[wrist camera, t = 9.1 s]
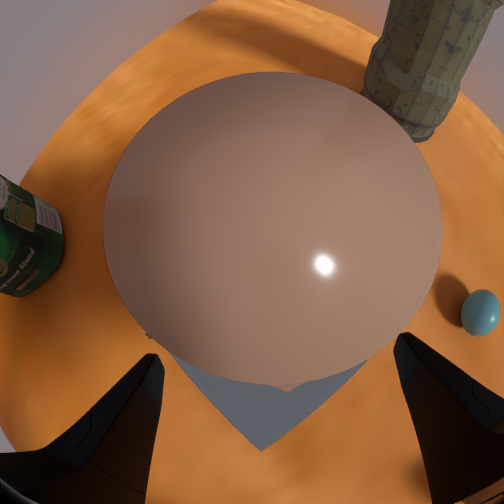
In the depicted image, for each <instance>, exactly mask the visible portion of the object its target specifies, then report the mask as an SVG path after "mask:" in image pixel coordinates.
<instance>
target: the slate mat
mask: <svg viewBox="0 0 504 504" xmlns="http://www.w3.org/2000/svg"><path fill="white" fill-rule="evenodd" d="M169 353H170V354H171V355H172V357H173V358H174V359H175V360H176V362H177V363H178V364H179V365H180V367H181V368H182V369H183V370H184V371H185V373H186V374H187V375H188V376H189V377H190V379H191V380H192V381H193V382H194V383H195V384H196V386H197V387H198V388H199V389H200V390H201V391H202V392H203V394H204V395H205V396H206V397H207V398H208V399H209V400H210V401H211V402H212V403H213V405H214V406H215V407H216V408H217V409H218V410H219V411H220V412H221V413H222V414H223V415H224V416H225V417H226V418H227V419H228V420H229V421H230V422H231V423H232V424H233V425H234V426H235V427H236V428H237V429H238V430H239V431H240V432H241V433H242V434H243V435H244V436H245V437H246V438H247V439H248V440H249V441H250V442H251V443H252V444H253V445H254V446H256V447H257V448H258V449H259V450H260V451H262V450H264V449H265V448H267V447H268V446H269V445H271V444H272V443H274V442H275V441H276V440H278V439H279V438H281V437H282V436H283V435H285V434H286V433H287V432H289V431H290V430H291V429H292V428H294V427H295V426H296V425H298V424H299V423H300V422H301V421H303V420H304V419H305V418H306V417H307V416H309V415H310V414H311V413H312V412H313V411H315V410H316V409H317V408H318V407H319V406H320V405H322V404H323V403H324V402H325V401H326V400H327V399H328V398H330V397H331V396H332V395H333V394H334V393H335V392H336V391H337V390H338V389H339V388H340V387H341V386H342V385H344V384H345V383H346V382H347V381H348V380H349V379H350V378H351V377H352V376H353V375H354V374H355V373H356V372H357V371H358V370H359V369H360V368H361V367H362V366H363V365H364V364H365V363H366V361H367V360H368V359H367V360H365V361H363V362H361V363H360V364H358V365H356V366H354V367H352V368H350V369H348V370H346V371H343V372H340V373H337V374H334V375H331V376H328V377H325V378H322V379H319V380H314V381H308V382H305V383H303V384H301V385H299V386H297V387H295V388H293V389H292V390H291V392H289V391H287V392H284V390H282V389H279V388H276V387H273V386H270V385H266V384H254V383H247V382H241V381H235V380H230V379H227V378H224V377H220V376H217V375H214V374H211V373H208V372H205V371H203V370H201V369H199V368H197V367H195V366H193V365H191V364H189V363H187V362H185V361H183V360H181V359H179V358H178V357H176V356H175V355H174V354H172V353H171V352H169Z"/></svg>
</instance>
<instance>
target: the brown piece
mask: <svg viewBox="0 0 504 504" xmlns="http://www.w3.org/2000/svg"><path fill="white" fill-rule="evenodd" d="M442 240H443V222H442V212H441V205H440V199H439V195H438V192H437V188H436V185H435V182H434V179H433V176H432V174H431V172H430V169H429V167H428V165H427V163H426V161H425V159H424V157H423V156H422V154H421V152H420V151H419V149H418V147H417V146H416V145H415V143H414V142H413V141H412V139H411V138H410V137H409V135H408V134H407V133H406V131H405V130H404V129H403V128H402V127H401V126H400V125H399V124H398V123H397V122H396V121H395V120H394V119H393V118H392V117H391V116H390V115H388V114H387V113H386V112H385V111H384V110H382V109H381V108H380V107H379V106H377V105H376V104H374V103H373V102H371V101H370V100H368V99H367V98H365V97H363V96H362V95H360V94H358V93H356V92H354V91H352V90H350V89H348V88H346V87H343V86H341V85H339V84H336V83H333V82H331V81H327V80H324V79H321V78H317V77H313V76H308V75H303V74H297V73H286V72H257V73H248V74H241V75H236V76H231V77H227V78H223V79H220V80H217V81H214V82H210V83H208V84H205V85H203V86H201V87H198V88H196V89H194V90H192V91H190V92H188V93H186V94H184V95H183V96H181V97H179V98H177V99H176V100H174V101H173V102H171V103H170V104H169V105H167V106H166V107H164V108H163V109H162V110H161V111H159V112H158V113H157V114H156V115H155V116H154V117H152V118H151V119H150V120H149V121H148V122H147V123H146V124H145V125H144V126H143V128H142V129H141V130H140V131H139V132H138V133H137V134H136V136H135V137H134V138H133V140H132V141H131V142H130V144H129V145H128V147H127V148H126V150H125V151H124V153H123V155H122V157H121V158H120V160H119V162H118V164H117V166H116V168H115V171H114V173H113V176H112V178H111V181H110V184H109V188H108V191H107V195H106V199H105V205H104V214H103V243H104V249H105V255H106V261H107V265H108V268H109V271H110V274H111V277H112V280H113V283H114V285H115V287H116V289H117V291H118V293H119V295H120V297H121V299H122V301H123V303H124V304H125V306H126V307H127V309H128V310H129V312H130V313H131V314H132V316H133V317H134V318H135V320H136V321H137V322H138V324H139V325H140V326H141V327H142V328H143V329H144V330H145V331H146V334H145V335H147V336H148V338H149V339H154V340H155V341H156V342H157V343H158V344H160V345H161V346H162V347H164V348H165V349H167V350H168V351H169V352H171V353H172V354H174V355H175V356H176V357H178V358H179V359H181V360H183V361H185V362H187V363H189V364H191V365H193V366H195V367H197V368H199V369H201V370H203V371H205V372H208V373H211V374H214V375H217V376H220V377H224V378H227V379H230V380H235V381H241V382H247V383H254V384H266V385H270V386H273V387H276V388H279V389H282V390H284V392H287V391H289V392H291V390H292V389H293V388H295V387H297V386H299V385H301V384H303V383H305V382H308V381H314V380H319V379H322V378H325V377H328V376H331V375H334V374H337V373H340V372H343V371H346V370H348V369H350V368H352V367H354V366H356V365H358V364H360V363H361V362H363V361H365V360H367V359H369V358H371V357H372V356H373V355H375V354H376V353H377V352H379V351H380V350H381V349H383V348H384V347H385V346H387V345H388V344H389V343H391V342H392V341H393V340H394V339H395V338H396V337H397V336H398V335H399V334H400V333H401V332H402V331H403V329H404V328H405V327H406V326H407V325H408V324H409V323H410V322H411V320H412V319H413V317H414V316H415V314H416V313H417V312H418V310H419V309H420V307H421V306H422V304H423V302H424V300H425V298H426V296H427V294H428V292H429V290H430V288H431V286H432V284H433V281H434V278H435V275H436V271H437V268H438V265H439V261H440V255H441V248H442Z"/></svg>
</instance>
